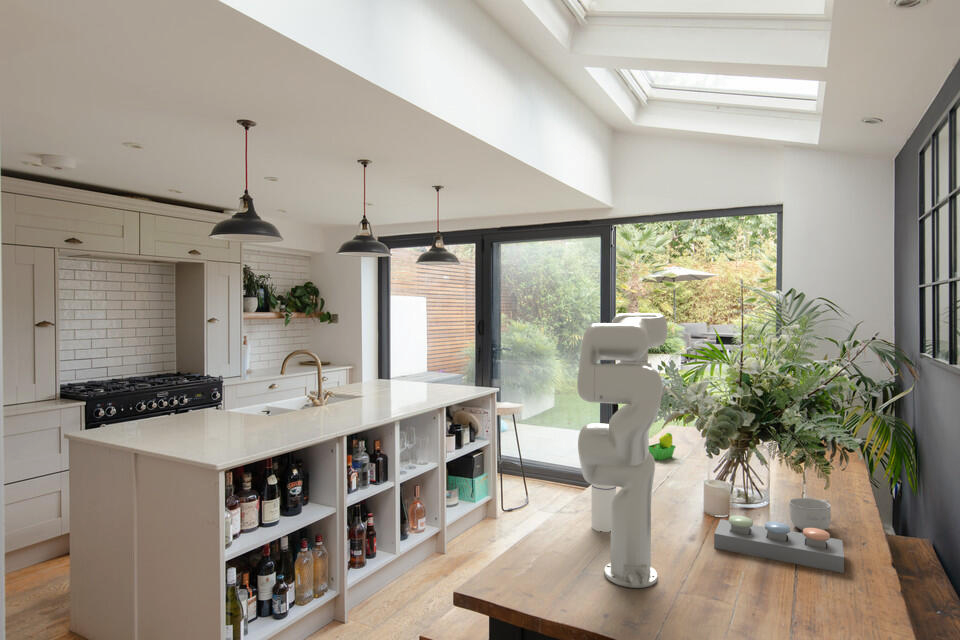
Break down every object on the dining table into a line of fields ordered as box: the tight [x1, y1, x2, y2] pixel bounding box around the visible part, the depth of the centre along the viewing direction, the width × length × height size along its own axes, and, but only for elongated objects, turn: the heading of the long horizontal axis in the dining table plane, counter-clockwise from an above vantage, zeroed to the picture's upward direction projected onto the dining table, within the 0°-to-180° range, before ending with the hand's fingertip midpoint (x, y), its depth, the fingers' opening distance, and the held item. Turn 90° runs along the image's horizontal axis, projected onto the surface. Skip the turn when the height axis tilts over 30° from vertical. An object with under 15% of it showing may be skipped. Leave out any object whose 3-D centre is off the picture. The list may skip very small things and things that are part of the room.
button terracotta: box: [802, 528, 831, 549], centre depth 151 cm, size 6×6×4 cm
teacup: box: [788, 497, 832, 531], centre depth 171 cm, size 14×11×8 cm
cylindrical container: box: [591, 484, 617, 533], centre depth 172 cm, size 7×7×25 cm
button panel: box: [713, 518, 845, 574], centre depth 155 cm, size 30×12×4 cm, turn 60°
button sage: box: [728, 515, 754, 535], centre depth 160 cm, size 6×6×4 cm
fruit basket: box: [648, 432, 676, 461], centre depth 250 cm, size 11×9×11 cm
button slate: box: [764, 521, 791, 542], centre depth 155 cm, size 6×6×4 cm
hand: (633, 417), depth 163 cm, fingers open, 9 cm apart
